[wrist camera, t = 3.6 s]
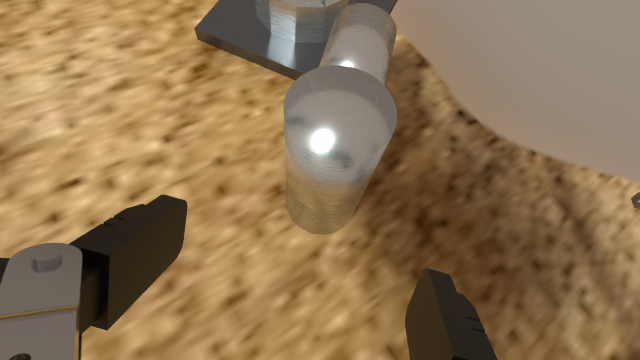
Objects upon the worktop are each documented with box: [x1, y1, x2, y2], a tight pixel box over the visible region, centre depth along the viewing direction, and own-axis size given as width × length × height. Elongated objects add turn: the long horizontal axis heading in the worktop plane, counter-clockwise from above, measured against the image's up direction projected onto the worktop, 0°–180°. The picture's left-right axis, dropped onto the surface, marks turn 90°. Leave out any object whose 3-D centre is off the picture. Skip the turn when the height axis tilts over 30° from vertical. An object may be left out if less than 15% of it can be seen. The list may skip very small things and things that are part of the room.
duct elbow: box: [284, 3, 397, 234], centre depth 21 cm, size 10×5×11 cm, turn 165°
